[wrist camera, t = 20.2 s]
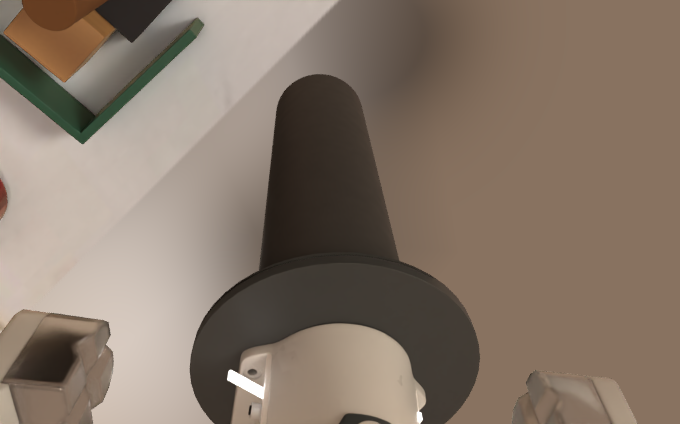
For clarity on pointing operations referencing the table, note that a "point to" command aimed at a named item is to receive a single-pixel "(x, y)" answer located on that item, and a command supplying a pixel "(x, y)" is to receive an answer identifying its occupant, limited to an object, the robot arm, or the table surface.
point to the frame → (64, 107)
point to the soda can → (3, 199)
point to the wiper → (111, 3)
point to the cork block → (61, 42)
